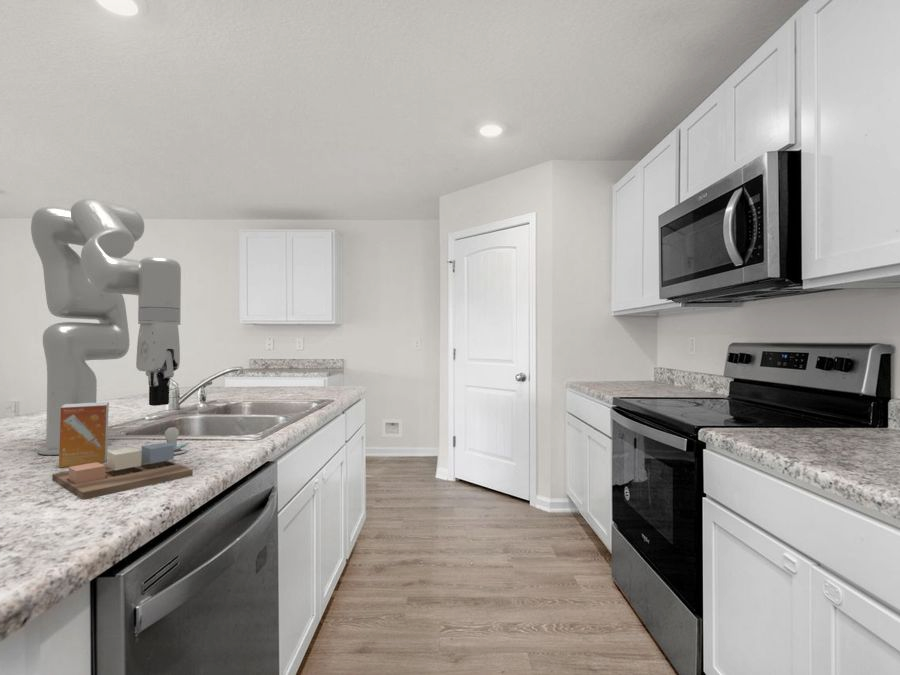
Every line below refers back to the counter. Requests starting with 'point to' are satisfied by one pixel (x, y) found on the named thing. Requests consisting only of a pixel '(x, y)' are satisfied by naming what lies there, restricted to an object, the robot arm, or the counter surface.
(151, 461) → the blue cube
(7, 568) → the counter surface
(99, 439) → the small box
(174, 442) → the pacifier
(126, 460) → the cream cube
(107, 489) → the walnut board
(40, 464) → the counter surface
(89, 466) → the pink square block
